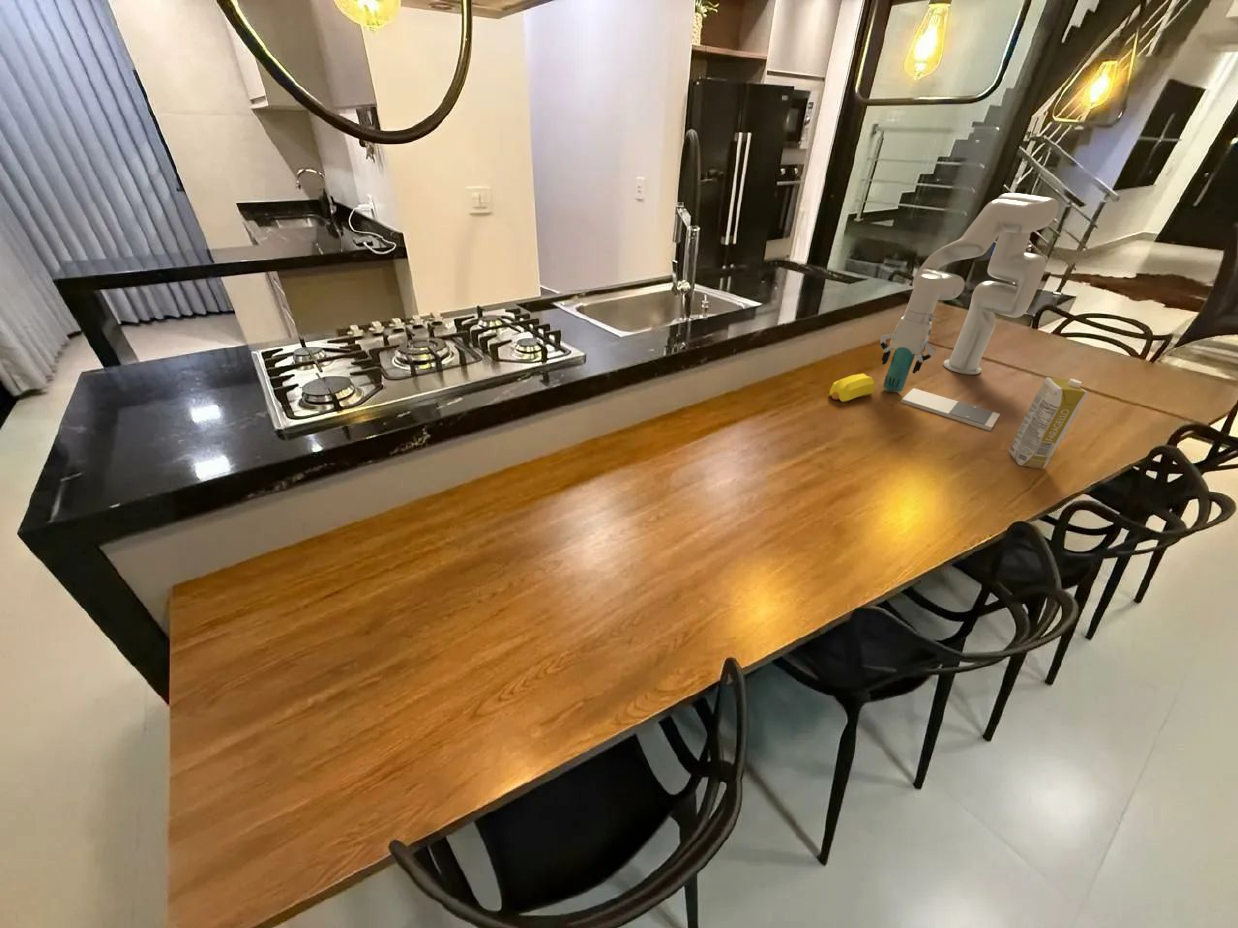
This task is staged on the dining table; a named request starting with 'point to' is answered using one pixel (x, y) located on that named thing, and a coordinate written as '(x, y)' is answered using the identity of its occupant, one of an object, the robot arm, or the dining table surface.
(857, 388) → the yellow faceted oblong part
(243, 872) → the dining table surface
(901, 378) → the beverage bottle
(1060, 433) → the juice carton
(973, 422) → the floor panel
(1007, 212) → the robot arm
